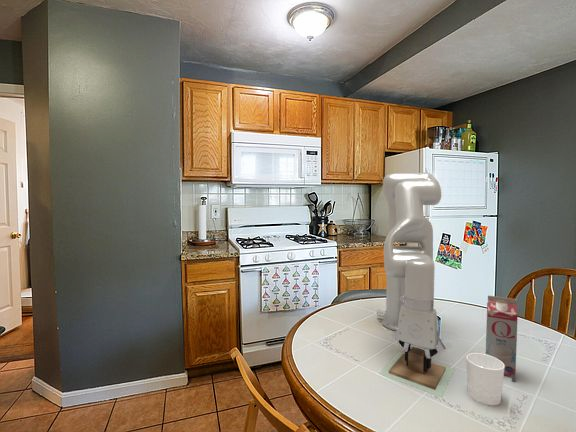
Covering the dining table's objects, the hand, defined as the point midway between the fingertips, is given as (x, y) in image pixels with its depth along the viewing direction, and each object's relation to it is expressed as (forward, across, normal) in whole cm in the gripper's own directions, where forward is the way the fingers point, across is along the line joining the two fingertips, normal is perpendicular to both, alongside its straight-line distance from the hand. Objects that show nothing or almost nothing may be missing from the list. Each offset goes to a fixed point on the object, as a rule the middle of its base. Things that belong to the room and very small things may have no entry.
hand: (417, 366), depth 85 cm
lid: (+1, 0, 0) cm, 1 cm away
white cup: (+3, +16, -1) cm, 16 cm away
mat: (+2, 0, 0) cm, 2 cm away
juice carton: (+3, +18, +16) cm, 24 cm away
